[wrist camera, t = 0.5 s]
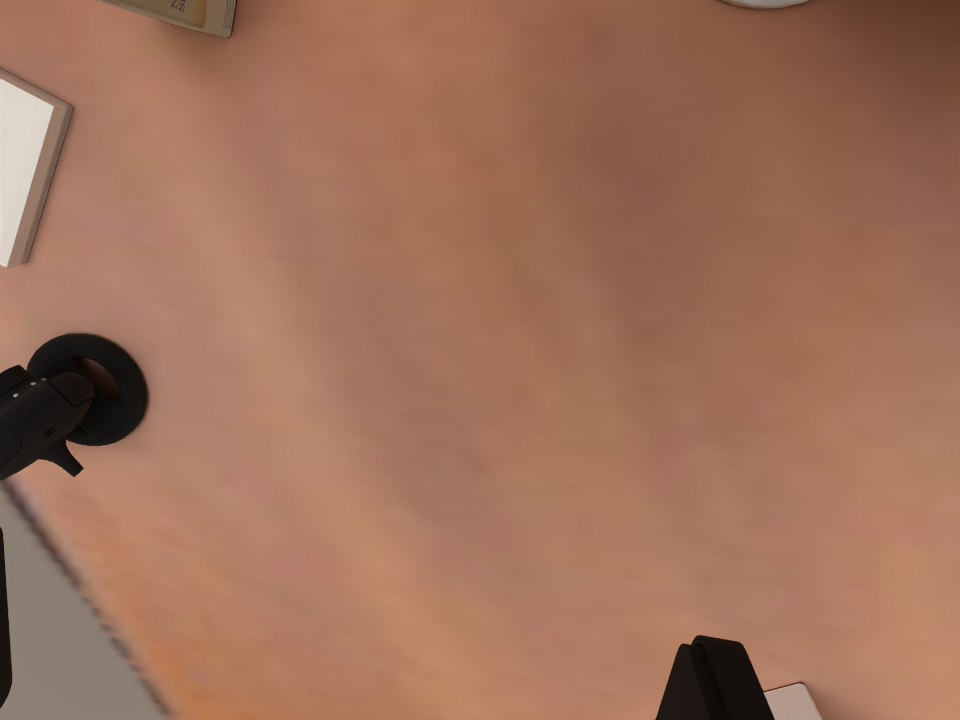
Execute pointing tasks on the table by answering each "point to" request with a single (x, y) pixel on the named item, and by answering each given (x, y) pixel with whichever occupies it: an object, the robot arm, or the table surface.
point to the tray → (26, 161)
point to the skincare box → (186, 13)
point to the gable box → (792, 703)
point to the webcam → (65, 404)
